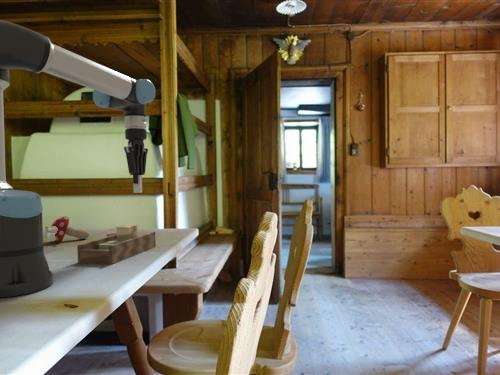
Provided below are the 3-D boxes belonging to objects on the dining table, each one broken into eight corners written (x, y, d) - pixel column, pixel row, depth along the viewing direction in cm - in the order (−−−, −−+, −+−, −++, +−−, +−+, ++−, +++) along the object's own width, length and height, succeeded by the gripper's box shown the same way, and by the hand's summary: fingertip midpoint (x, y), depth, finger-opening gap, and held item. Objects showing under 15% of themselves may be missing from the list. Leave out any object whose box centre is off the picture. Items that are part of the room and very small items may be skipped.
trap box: (112, 264, 111) (111, 246, 111) (78, 262, 114) (77, 245, 114) (155, 246, 138) (155, 232, 137) (126, 246, 140) (126, 231, 140)
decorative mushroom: (94, 218, 162) (57, 208, 154) (91, 234, 153) (52, 224, 146) (85, 236, 166) (49, 227, 159) (82, 253, 157) (44, 245, 150)
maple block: (129, 241, 127) (129, 227, 127) (116, 241, 128) (116, 226, 128) (137, 238, 132) (137, 225, 132) (125, 238, 133) (124, 224, 133)
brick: (128, 243, 148) (128, 231, 148) (106, 244, 146) (106, 232, 145) (130, 237, 164) (129, 226, 164) (109, 238, 161) (109, 227, 161)
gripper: (135, 126, 129) (137, 193, 130) (153, 130, 142) (155, 191, 143) (116, 127, 131) (118, 193, 132) (136, 131, 144) (138, 191, 145)
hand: (138, 192), depth 137 cm, fingers closed
